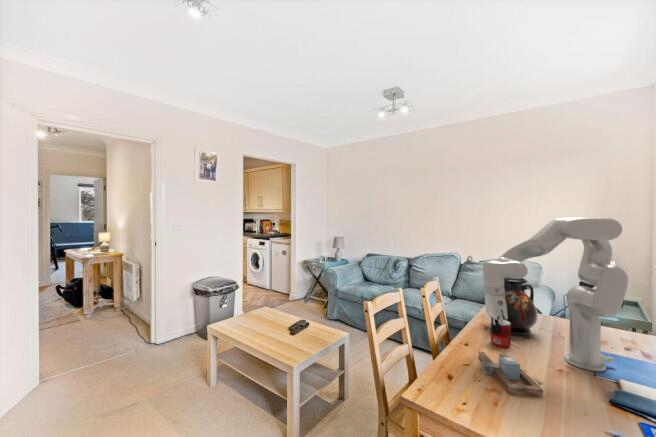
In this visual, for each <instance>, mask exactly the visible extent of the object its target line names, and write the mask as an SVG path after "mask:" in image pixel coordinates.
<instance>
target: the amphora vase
mask: <svg viewBox="0 0 656 437" xmlns="http://www.w3.org/2000/svg"><path fill="white" fill-rule="evenodd" d="M527 287H528V288H529V292H530V294H529V295H528V294H527V293H526V292H525V289H526V288H527ZM504 288H505V295H504V296H505V300H506V306H507V315H508V319H507V320H506V321H509V322H510V324H511V337H512V336H514V337H529V336H531V334H532V329H531V328H533V327H534V325H536V324H537V321H538V311H537V307H536V306H535V303H534V294H535V291H534V288H533V286H532V285H531V284H528V280H527V279H525V278H524V277H523V278H521V279H509V278H504ZM503 320H505V319H504V318H503Z"/></svg>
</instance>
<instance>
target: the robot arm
mask: <svg viewBox="0 0 656 437" xmlns="http://www.w3.org/2000/svg"><path fill="white" fill-rule="evenodd" d="M622 232H623V226H622V224H621V223H620V222H619V221H618V220H617V219H614V218H609V217H573V216H572V217H563V216H562V217H555V218H553V219H551V220H550V221H549V222H548V223H547V224H545V225H544V226H543V227H542V228H541V229H540V230H539V231H538V232H536V233H535V234H534V235H533V236H531V237H530V238H529V239H526V240H524V241H522V242H520V243H518V244H517V245H514V246H512V247H511V248H509V249H508V250H506V251H505V252H504V253H503V254H502V255H500V256H499V257H498V258H497V260H492V259H491V260H485V261H483V262H482V274H483V275H482V276H483V278H482V279H483V293H484V294H485V295H484V307H485V313H486V314H487V315H488V316H489V319H490V333H491V332H492V333H493V334H501V324H503V318H504V319H505V320H507V319H508V315H507V306H506V300H505V296H504V295H505V288H504V278H509V279H521V278H523V279H524V278H525V277H526V276H527V275H528V272H529V271H528V267H527V266H526V264H525V263H523V262H524V261H527V260H528V259H532V258H537V257H538V258H539V257H543V256H546V255H548V254H550V253H551V252H552V251H553V250H555V248H557V247H558V246H559V245H561V244H562V243H563V242H564V241H565V240H567V239H570V240H571V239H573V240H580V241H581V242H582V244H583V253H582V255H581V261H580V263H579V267H578V269H577V270H578V271H577V277H578V279H579V280H580V281H581V282H582V283H585V284H588V285H591V286H595V287H596V288H595V289H594V288H592V287H589V286H584V285H575V286H572V287H571V288H569V290H567V293H566V301H567V302H566V303H567V306H568V312H569V341H568V342H569V343H568V344H569V345H568V346H569V347H568V348H569V349H568V352H569V353H565V354H564V360H565V361H566V362H567V363H568V364H570V365H572V366H575V367H577V368H581V369H583V370H586V371H593V372H604V371H606V369H607V366H606V364H605V363H615V359H614V357H612V356H605V355H604V354H602V353H601V352H602V349H601V348H602V346H601V345H602V343H601V341H602V340H601V339H602V335H601V334H602V333H601V332H602V323H601V319H600V318H604V319H611V318H614V317H616V316H617V315H618V314H619V313H620V311H621V309H622V306H623V302H624V299H625V297H626V293H627V289H628V285H629V277H628V274H627V273H626V271H625V270H624V269H623V268H621V267H620V266H617V265H614V264H611V262H612V256H613V247H612V244H611V242H610V241H612V240H613V241H614V240H615V239H617V238H619V237H620V236H621V234H622Z"/></svg>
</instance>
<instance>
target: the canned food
mask: <svg viewBox="0 0 656 437" xmlns="http://www.w3.org/2000/svg"><path fill="white" fill-rule="evenodd" d="M511 337H512V335H511V324H510V322H509V321H506V320H503V324H501V334H493V333H492V332H491V331H490V342H491V344H492V345H493V346H494V347H497V348H502V349H508V348H510V347H511V342H512V341H511V340H512V339H511Z"/></svg>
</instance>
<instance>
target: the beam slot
mask: <svg viewBox="0 0 656 437" xmlns="http://www.w3.org/2000/svg"><path fill="white" fill-rule="evenodd" d="M499 357H509V355H507V354H506V353H505V352H499ZM478 358H479V359H480V370H481V371H482V372H483V373H484V375H490V376H494V377H495V378H496V379H497V381H498V382H499V383H500V384H501V386H502V387H503V388H504V390H506V391H507V393H509V395H513V396H515V395H516V396H528V397H540V398H541V397H543V395H544V394H543V392H544V389H543V388H542V387H541V386H540V385H539V384H537V383H536V382H535V381H534V380H533V379H532V377H531V376H529V375H528V374H527V373H526V372H525V371H524V370H523V368H522V367H521V366H520V381H521V382H522V383H523V384H513V382H511V380H508V378H507V377H506V376H505V375H504V374H503V373H502V372H501V371H500V370H499V365H497V364H496V363H495V362H494V361H492V360H491V358H490V357H489V356H488V354H486V353H485V352H484V351H481V350H479V351H478Z"/></svg>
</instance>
